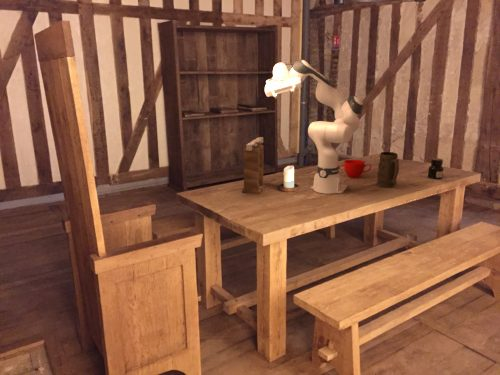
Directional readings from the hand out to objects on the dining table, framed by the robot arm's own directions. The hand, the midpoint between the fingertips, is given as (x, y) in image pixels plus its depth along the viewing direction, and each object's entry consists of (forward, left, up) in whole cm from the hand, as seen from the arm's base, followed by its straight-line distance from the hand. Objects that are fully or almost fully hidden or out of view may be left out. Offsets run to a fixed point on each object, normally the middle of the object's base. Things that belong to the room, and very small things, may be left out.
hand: (284, 94), depth 235 cm
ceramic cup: (-55, +22, -54) cm, 81 cm away
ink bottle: (-84, +63, -54) cm, 119 cm away
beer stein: (-45, +46, -54) cm, 84 cm away
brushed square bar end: (+6, -15, -29) cm, 33 cm away
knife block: (+9, -14, -54) cm, 56 cm away
